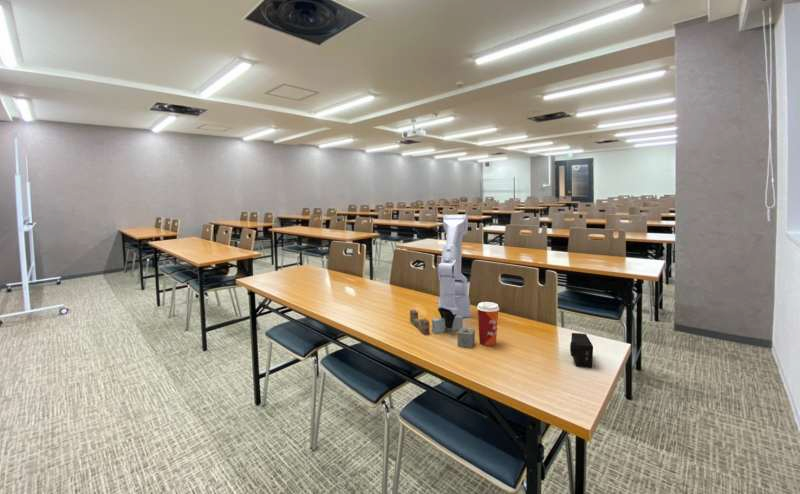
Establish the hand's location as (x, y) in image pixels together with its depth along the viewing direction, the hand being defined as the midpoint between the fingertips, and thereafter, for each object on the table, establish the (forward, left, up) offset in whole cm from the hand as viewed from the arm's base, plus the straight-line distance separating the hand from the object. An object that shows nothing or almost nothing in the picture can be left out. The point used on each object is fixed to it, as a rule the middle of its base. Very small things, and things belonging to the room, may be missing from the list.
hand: (447, 327), depth 141 cm
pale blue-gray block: (0, 0, -1) cm, 1 cm away
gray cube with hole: (0, +15, -2) cm, 15 cm away
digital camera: (-27, +38, -2) cm, 47 cm away
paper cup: (-8, +16, -2) cm, 18 cm away
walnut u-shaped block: (+9, -7, -1) cm, 11 cm away
